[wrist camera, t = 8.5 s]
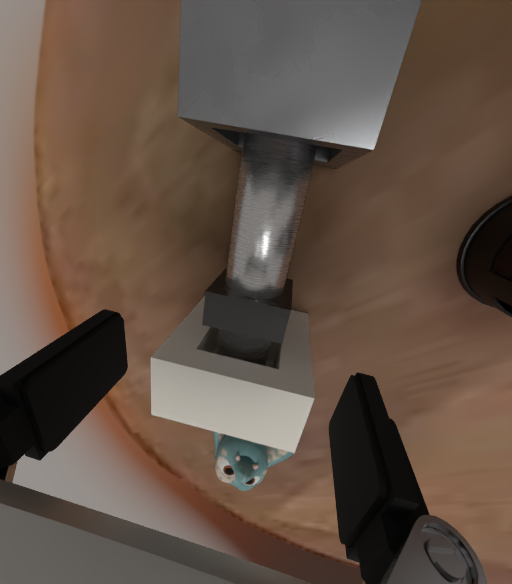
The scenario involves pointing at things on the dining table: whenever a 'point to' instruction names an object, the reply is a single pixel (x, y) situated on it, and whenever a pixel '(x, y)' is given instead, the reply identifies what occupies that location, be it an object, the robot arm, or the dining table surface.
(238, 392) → the socket
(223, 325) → the rod
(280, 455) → the stuffed animal
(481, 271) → the french press
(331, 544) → the dining table surface
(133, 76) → the dining table surface
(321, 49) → the grey metal block
